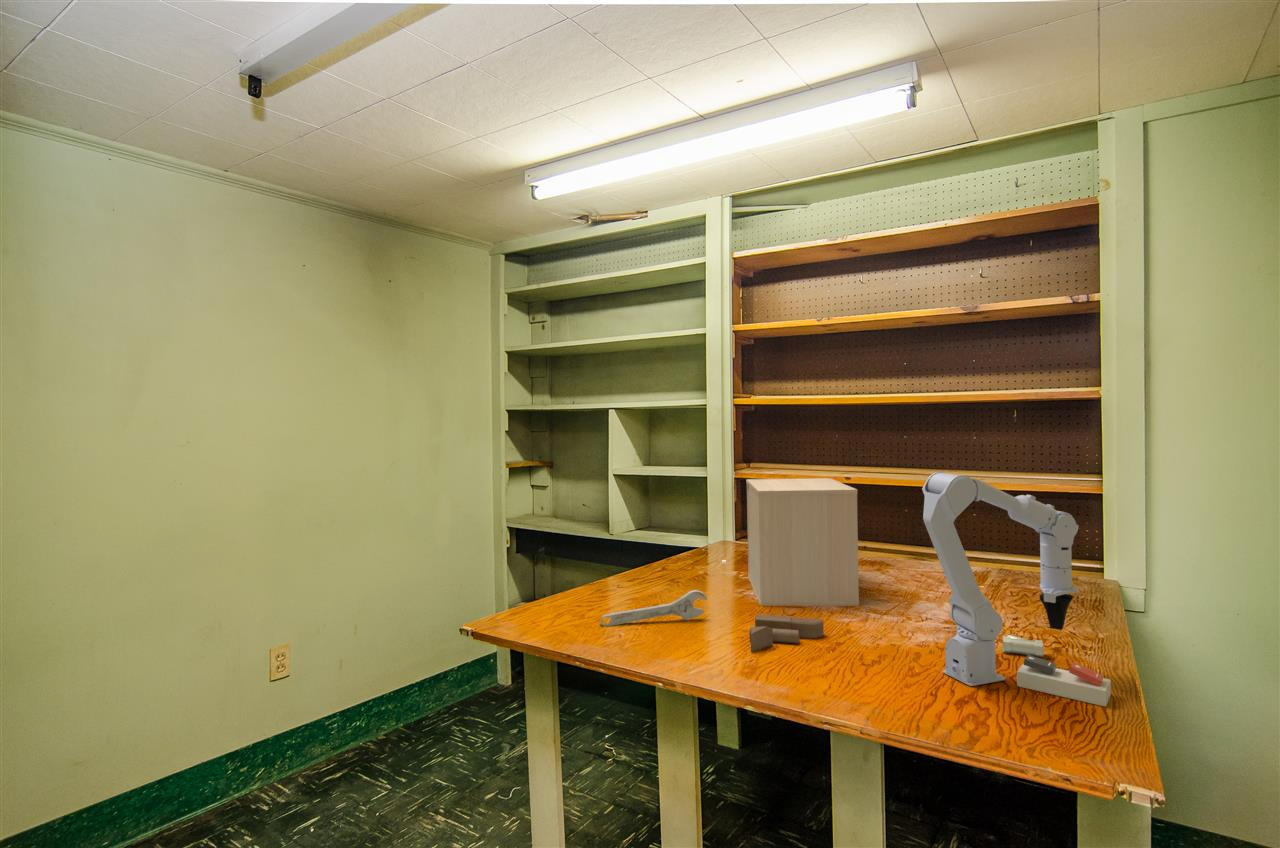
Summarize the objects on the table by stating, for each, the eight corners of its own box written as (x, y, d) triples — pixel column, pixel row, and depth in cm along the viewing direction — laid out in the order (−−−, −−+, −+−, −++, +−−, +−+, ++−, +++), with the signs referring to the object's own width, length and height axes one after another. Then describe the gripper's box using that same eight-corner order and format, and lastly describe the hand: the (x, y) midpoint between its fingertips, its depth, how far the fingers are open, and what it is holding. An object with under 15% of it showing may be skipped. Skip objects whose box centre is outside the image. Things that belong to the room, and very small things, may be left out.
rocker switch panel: (1111, 694, 129) (1110, 679, 129) (1106, 706, 124) (1105, 691, 124) (1024, 675, 139) (1024, 661, 139) (1017, 686, 134) (1016, 671, 134)
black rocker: (1055, 669, 134) (1056, 663, 134) (1052, 674, 131) (1053, 668, 131) (1027, 660, 137) (1028, 654, 137) (1023, 664, 135) (1024, 658, 135)
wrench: (602, 635, 180) (708, 616, 183) (603, 637, 178) (709, 618, 181) (598, 606, 179) (704, 588, 183) (599, 608, 178) (705, 589, 181)
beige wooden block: (747, 576, 229) (746, 479, 228) (831, 576, 227) (830, 477, 227) (760, 605, 194) (758, 490, 193) (859, 605, 192) (857, 489, 192)
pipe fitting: (1002, 647, 158) (1003, 654, 152) (1001, 631, 158) (1003, 637, 152) (1040, 652, 154) (1043, 659, 148) (1040, 635, 154) (1043, 642, 148)
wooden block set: (753, 609, 173) (823, 614, 168) (753, 631, 173) (823, 635, 168) (745, 629, 157) (823, 635, 152) (746, 653, 157) (823, 659, 152)
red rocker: (1102, 681, 129) (1104, 675, 128) (1099, 686, 126) (1101, 680, 126) (1072, 667, 132) (1074, 661, 132) (1069, 672, 129) (1071, 666, 129)
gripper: (1071, 575, 133) (1072, 641, 133) (1083, 562, 143) (1084, 623, 144) (1032, 570, 137) (1033, 634, 138) (1046, 557, 148) (1047, 617, 148)
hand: (1056, 628), depth 141 cm, fingers closed
